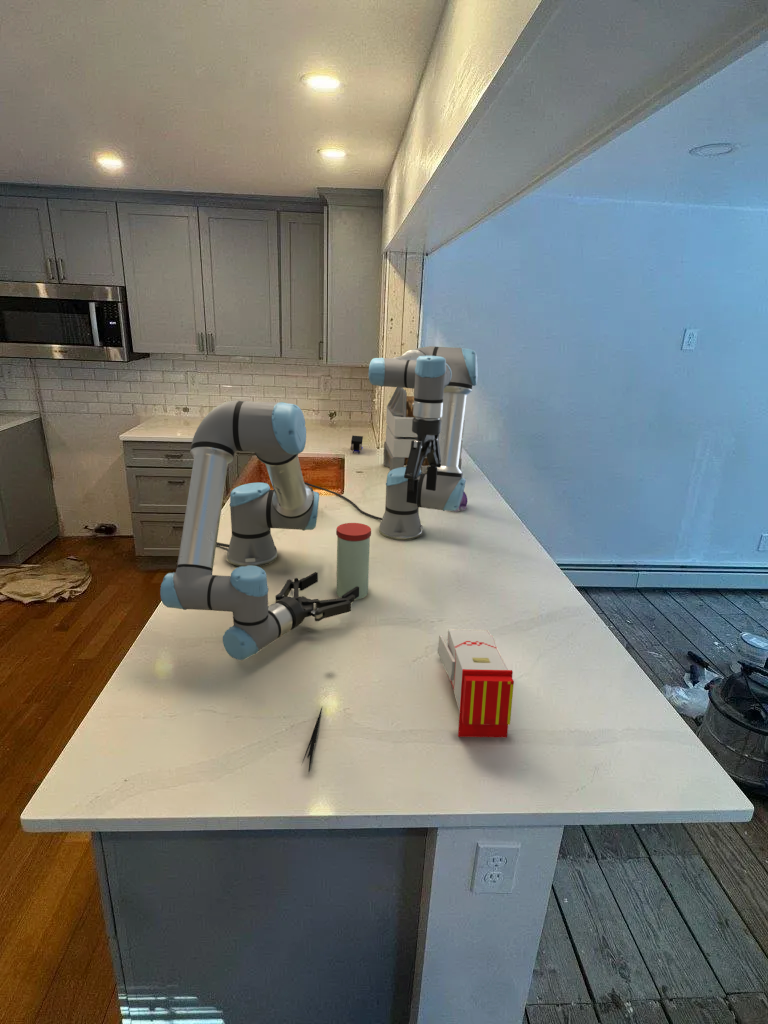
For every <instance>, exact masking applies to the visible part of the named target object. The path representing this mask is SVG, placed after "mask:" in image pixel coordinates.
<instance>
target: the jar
mask: <svg viewBox="0 0 768 1024" xmlns="http://www.w3.org/2000/svg"><path fill="white" fill-rule="evenodd" d="M336 536H337V535H336ZM336 539H337V540H336V595H337V596H338V597H339V598H342V595H344V594H345V593H347V592H349V591H350V590H352V589H353V588H355V587H356V586H358V587H359V597H357V598H356V599H355V600H354V601H356V600H362V599H363V598H366V596H367V595H368V593H369V572H370V569H369V567H370V547H371V546H370V543H371V536H370V537H369V538H368V539H365V540H361V541H348V540H344V539H341V538H339V537H338V536H337V538H336Z"/></svg>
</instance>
